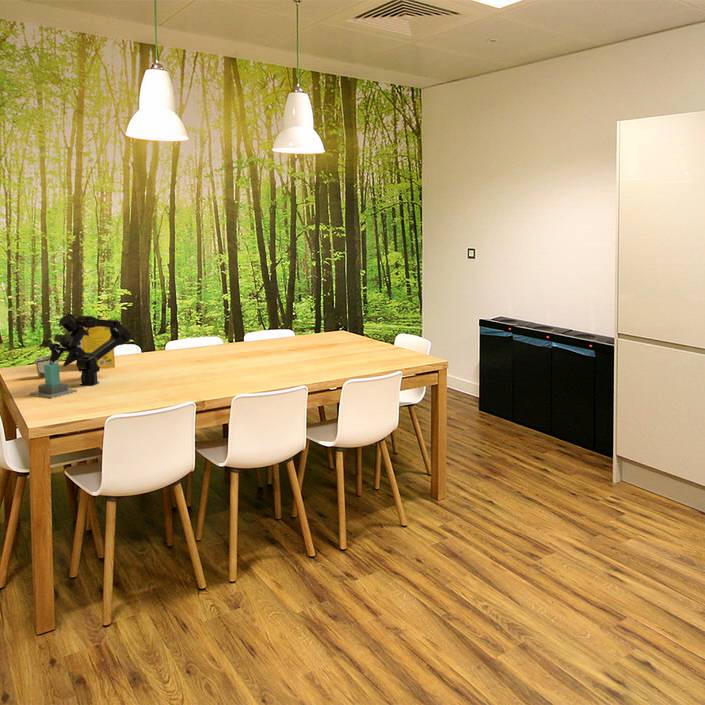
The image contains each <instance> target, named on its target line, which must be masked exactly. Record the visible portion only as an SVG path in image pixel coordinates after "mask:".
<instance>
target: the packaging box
mask: <svg viewBox="0 0 705 705" xmlns="http://www.w3.org/2000/svg"><path fill="white" fill-rule="evenodd" d="M102 319H103V320H108V319H107V318H105V317H103V318H102ZM83 328H84V327H83ZM84 329H85V330H88V333H89V336H85V335H84V337H83V338H82V340H81V341H80V343H81V345H78V346H80V347H81V348H82V349H83V350H84V351H85V352H87V353H92V352H93V351H95V350H96V349H97V348H99V347H100V346H101V345H103V344H104V343H105V342H107V341H108V340H110V337H111V333H110V328H109V327H100V326H97V327H93V328H84ZM97 365H98V366H99V367H100V368H105V369H111V368H110V367H114V368H116V363H115V348H114V349H112V350H111V351H110V352H108V353H107V354H106V355H105V356H103V357H102V358H101V359H99V360H98V362H97Z"/></svg>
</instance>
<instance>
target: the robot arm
mask: <svg viewBox="0 0 705 705" xmlns="http://www.w3.org/2000/svg"><path fill="white" fill-rule="evenodd" d="M59 325H61V326H62V327H63V328H64V330H66V331H67V332H69V333H65V334H64V335H63V334H58V333H56V334H55V335H54V337H53V338H54V339H53V342H51V343H49V345H48V346H47V347H48V348H49V351H50V356H51V358H50V361H53V363H54V362H55V361H56V360H57V359H58V358H59V359H60V358H61V357H62V355H63V354H64V352H65V353H68V356H67V357H66V358H65V361H64V362H63V367H65V368H66V367H67V366H68V365H70V364H72V363H74V362H75V361H76V367H77V370H78V372H80V373H81V374H80V380H81V383H80V385H81V386H95V385H97V384H99V383H100V381H98V372H100V370H101V369H100V367H99V366H98V365H97V362H98V360H99V359H101V358H102V357H103V356H105V355H106V354H107V353H108V352H110V351H111V350H112V349H114V350H115V348H117V347H118V346H122V345H126V344H127V343H129V342H130V340H131V334H130V332H129V330H127V328H126V327H125V326H123V325H122V323H121V322H120V321H119V320H116V319H107V320H103V318H97V317H95V316H92V315H78V317H77V318H75V316H74V315H73V314H72V313H67V314H66V315H64V316H63V317H61V318H60V320H59ZM97 326H100V327H109V328H110V333H111V337H110V340H108V341H107V342H105V343H104V344H103V345H101V346H100V347H99V348H97V349H96V350H95V351H93V352H92V353H87V352H85V351H84V350H83V349H82V348H81V347H80V346H78V345H81V343H80V341H81V340H82V338H83V337H84V335H85V336H89V333H88V330H85V329H84V328H93V327H97ZM83 327H84V328H83ZM55 342H56V343H55ZM49 364H50V362H49Z"/></svg>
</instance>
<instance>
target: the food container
mask: <svg viewBox="0 0 705 705" xmlns="http://www.w3.org/2000/svg"><path fill="white" fill-rule="evenodd" d="M50 358H51V355H48V356H47V355H46V356H40V357H36V358H35V360H34V364H35V365H36V369H37V370H36V371H37V375H38V379H39V378H40V379H39V380H42V379H41V378H44V379H45V373H44V365H46V364H49V362H50ZM59 361H60V357H59V358H58V359H57V360H56V361H55V362H54V364H59Z"/></svg>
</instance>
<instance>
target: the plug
mask: <svg viewBox="0 0 705 705" xmlns="http://www.w3.org/2000/svg"><path fill="white" fill-rule="evenodd" d="M44 373H45V378H44V382H45V383H44V384H45V386H50V387H53V386H57V385H60V383H61V377H60V364H59V363H58V364H54V363H53V361H50V364H46V365H44Z"/></svg>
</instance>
